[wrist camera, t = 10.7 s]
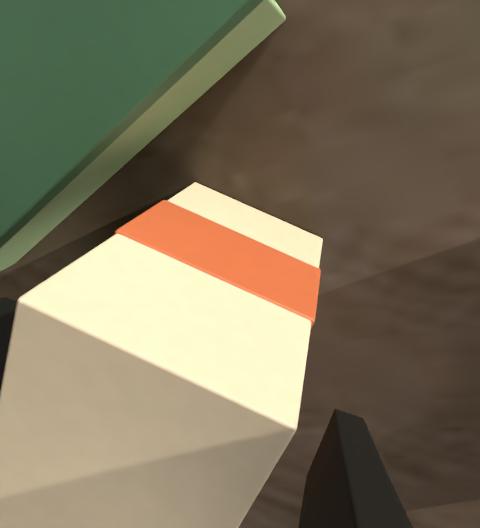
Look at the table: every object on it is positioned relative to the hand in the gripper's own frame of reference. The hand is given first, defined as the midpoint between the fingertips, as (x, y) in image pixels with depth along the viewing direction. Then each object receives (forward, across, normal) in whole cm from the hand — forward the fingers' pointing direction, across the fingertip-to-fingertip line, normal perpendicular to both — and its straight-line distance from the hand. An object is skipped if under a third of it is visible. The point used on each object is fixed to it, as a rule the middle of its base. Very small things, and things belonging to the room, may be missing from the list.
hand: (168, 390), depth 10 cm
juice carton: (+6, 0, 0) cm, 6 cm away
